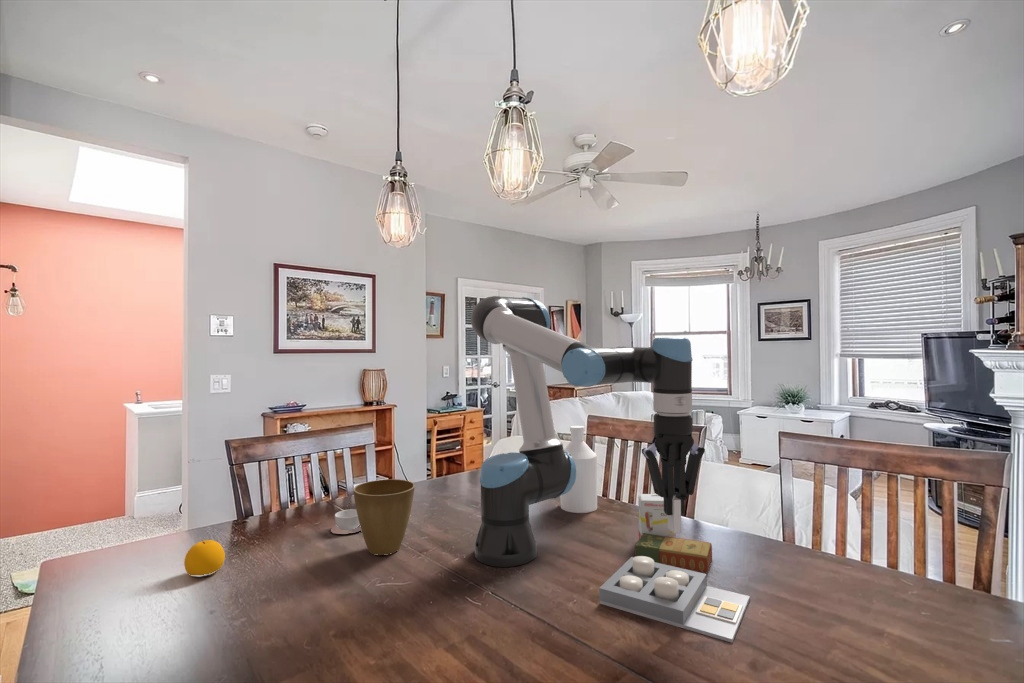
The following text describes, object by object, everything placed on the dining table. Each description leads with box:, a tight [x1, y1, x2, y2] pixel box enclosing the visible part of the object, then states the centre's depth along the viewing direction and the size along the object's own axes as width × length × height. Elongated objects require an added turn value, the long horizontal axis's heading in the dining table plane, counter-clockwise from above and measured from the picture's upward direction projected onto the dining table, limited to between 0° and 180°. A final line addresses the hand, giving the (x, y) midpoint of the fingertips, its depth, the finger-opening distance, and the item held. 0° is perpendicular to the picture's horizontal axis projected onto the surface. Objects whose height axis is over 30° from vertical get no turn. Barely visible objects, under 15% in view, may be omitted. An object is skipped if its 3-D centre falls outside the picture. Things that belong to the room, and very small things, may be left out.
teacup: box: [334, 508, 360, 530], centre depth 140 cm, size 10×10×5 cm
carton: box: [634, 533, 713, 574], centre depth 116 cm, size 8×16×4 cm, turn 62°
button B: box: [632, 556, 654, 578], centre depth 104 cm, size 4×4×3 cm
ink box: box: [637, 493, 677, 541], centre depth 125 cm, size 9×5×12 cm, turn 83°
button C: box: [654, 577, 679, 602], centre depth 95 cm, size 4×4×3 cm
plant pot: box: [352, 478, 415, 555], centre depth 125 cm, size 15×15×16 cm
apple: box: [183, 539, 226, 576], centre depth 113 cm, size 8×8×8 cm
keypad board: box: [599, 556, 751, 643], centre depth 97 cm, size 24×17×3 cm
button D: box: [666, 570, 689, 587], centre depth 100 cm, size 4×4×3 cm
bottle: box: [559, 425, 598, 514], centre depth 156 cm, size 12×12×25 cm
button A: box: [620, 575, 643, 592], centre depth 99 cm, size 4×4×3 cm
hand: (674, 530), depth 101 cm, fingers closed
